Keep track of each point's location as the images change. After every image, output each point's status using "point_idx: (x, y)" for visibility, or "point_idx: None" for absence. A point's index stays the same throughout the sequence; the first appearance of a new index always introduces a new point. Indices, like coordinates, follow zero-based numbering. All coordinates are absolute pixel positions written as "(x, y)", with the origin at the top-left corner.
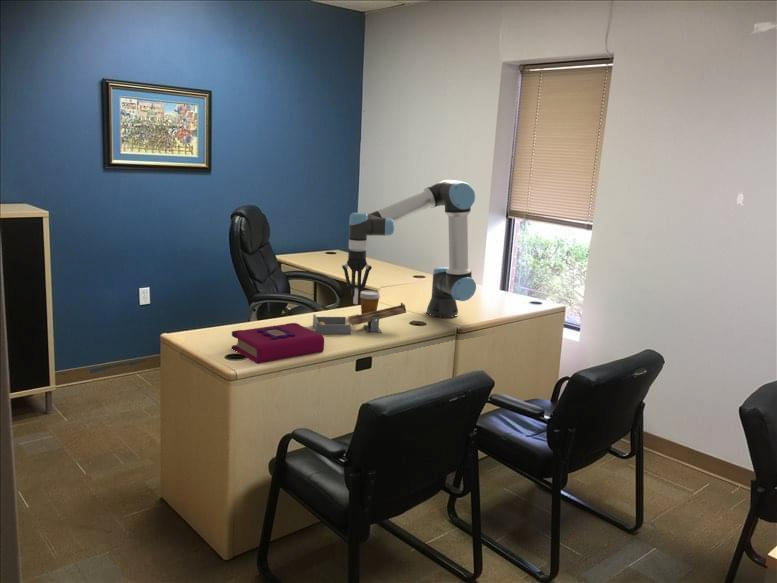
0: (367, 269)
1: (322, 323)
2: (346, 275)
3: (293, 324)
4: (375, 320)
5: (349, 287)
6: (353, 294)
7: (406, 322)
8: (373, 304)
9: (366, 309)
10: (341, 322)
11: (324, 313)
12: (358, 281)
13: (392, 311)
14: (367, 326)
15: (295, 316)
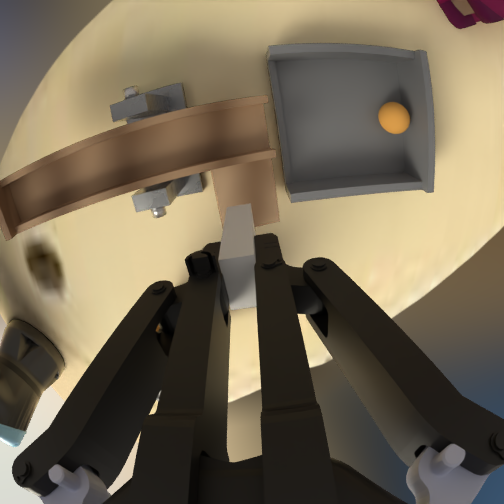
0: (59, 459)
1: (396, 108)
2: (411, 353)
3: (487, 6)
4: (132, 87)
5: (316, 258)
6: (262, 242)
7: (70, 273)
8: (159, 327)
9: None
10: (305, 184)
11: None
12: (211, 321)
13: (42, 158)
14: None
15: (432, 284)
